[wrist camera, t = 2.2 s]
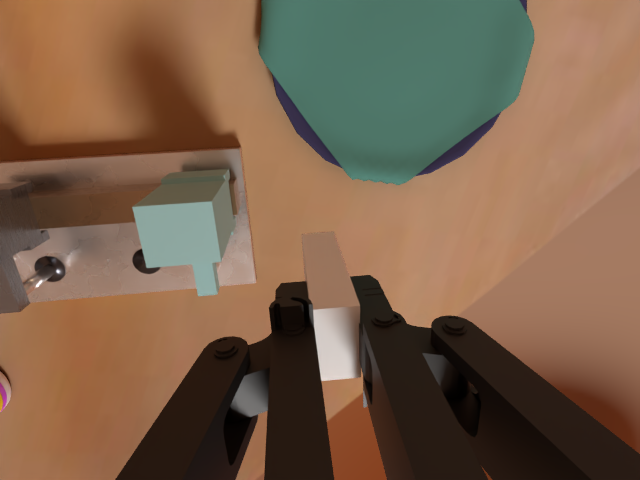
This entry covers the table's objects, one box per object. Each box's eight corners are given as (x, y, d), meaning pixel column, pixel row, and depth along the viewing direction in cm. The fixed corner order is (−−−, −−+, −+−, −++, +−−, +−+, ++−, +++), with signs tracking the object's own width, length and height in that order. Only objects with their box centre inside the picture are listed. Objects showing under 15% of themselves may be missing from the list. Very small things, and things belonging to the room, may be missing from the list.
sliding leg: (192, 267, 33) (161, 330, 24) (174, 169, 30) (130, 200, 21) (243, 263, 33) (230, 323, 25) (230, 165, 30) (210, 195, 21)
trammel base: (33, 296, 34) (-68, 378, 24) (-17, 162, 30) (-164, 196, 20) (256, 277, 36) (247, 347, 26) (241, 146, 31) (222, 171, 21)
